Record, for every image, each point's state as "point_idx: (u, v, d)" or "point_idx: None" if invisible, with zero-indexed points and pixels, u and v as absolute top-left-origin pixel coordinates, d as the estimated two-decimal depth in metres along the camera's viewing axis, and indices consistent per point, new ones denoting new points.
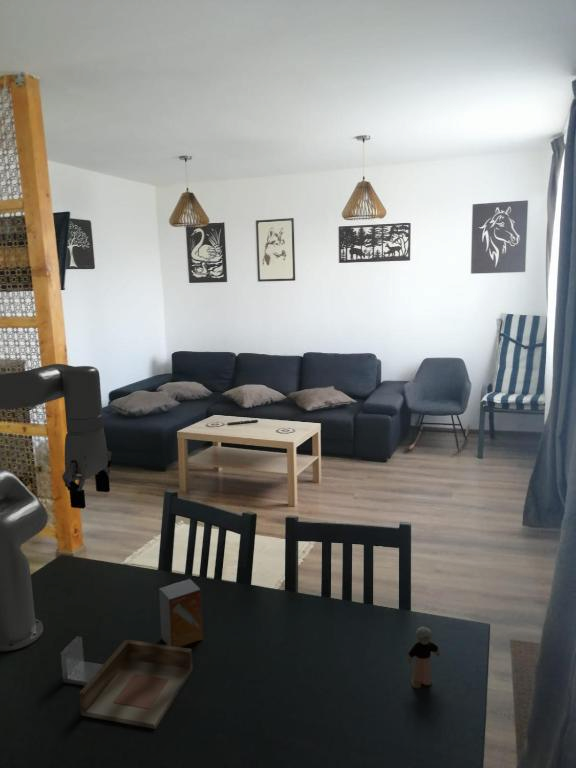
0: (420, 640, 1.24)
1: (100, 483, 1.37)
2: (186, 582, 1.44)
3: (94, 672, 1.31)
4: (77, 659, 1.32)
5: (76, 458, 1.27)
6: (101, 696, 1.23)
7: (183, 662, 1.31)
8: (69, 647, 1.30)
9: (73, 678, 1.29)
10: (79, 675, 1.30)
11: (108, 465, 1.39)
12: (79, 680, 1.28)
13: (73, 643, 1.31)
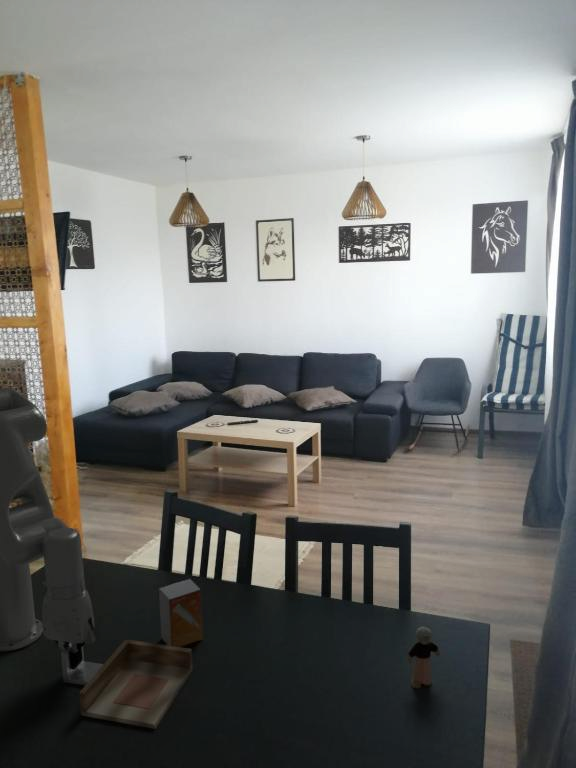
0: (420, 640, 1.24)
1: None
2: (186, 582, 1.44)
3: (94, 672, 1.31)
4: None
5: (91, 620, 1.29)
6: (101, 696, 1.23)
7: (183, 662, 1.31)
8: (69, 647, 1.30)
9: (73, 677, 1.29)
10: (79, 675, 1.30)
11: None
12: (79, 680, 1.28)
13: None
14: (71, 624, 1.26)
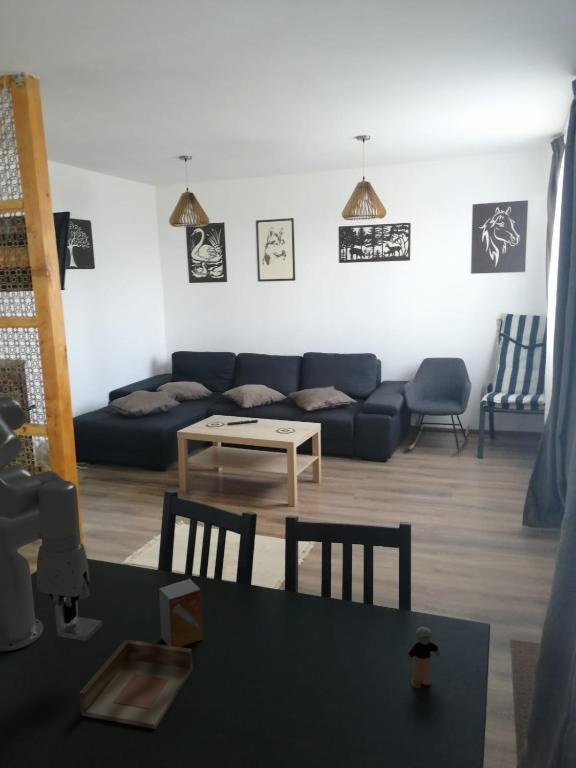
0: (420, 640, 1.24)
1: None
2: (186, 582, 1.44)
3: (88, 627, 1.29)
4: None
5: (86, 574, 1.27)
6: (101, 696, 1.23)
7: (183, 662, 1.31)
8: (64, 601, 1.28)
9: (67, 631, 1.28)
10: (73, 629, 1.28)
11: None
12: (73, 634, 1.27)
13: None
14: (66, 577, 1.25)
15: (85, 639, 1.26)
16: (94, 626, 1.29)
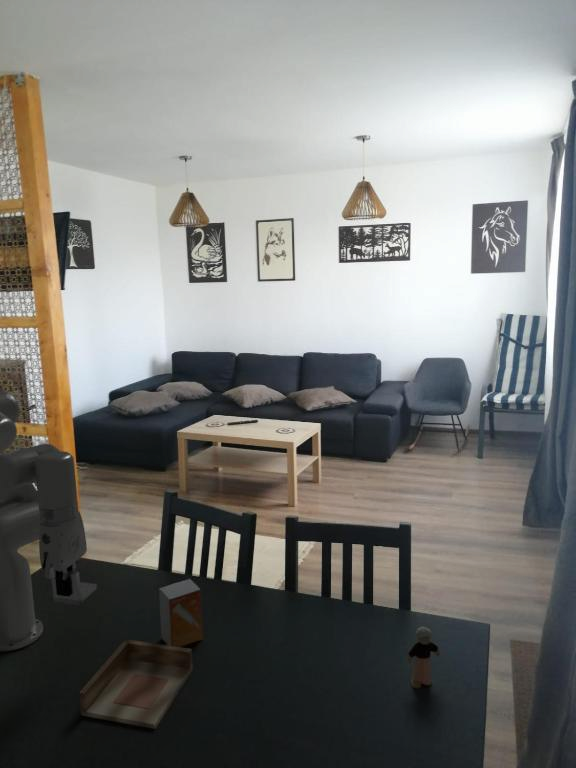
0: (420, 640, 1.24)
1: None
2: (186, 582, 1.44)
3: (80, 585, 1.34)
4: None
5: None
6: (101, 696, 1.23)
7: (183, 662, 1.31)
8: (69, 571, 1.28)
9: (81, 595, 1.30)
10: None
11: None
12: (87, 591, 1.31)
13: None
14: (80, 537, 1.28)
15: (96, 587, 1.34)
16: (81, 583, 1.35)
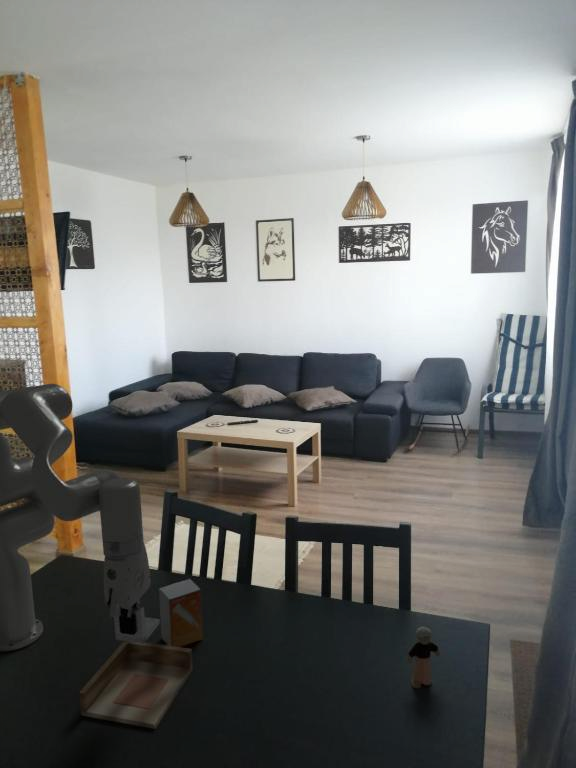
0: (420, 640, 1.24)
1: None
2: (186, 582, 1.44)
3: None
4: None
5: None
6: (101, 696, 1.23)
7: (183, 662, 1.31)
8: (133, 607, 1.18)
9: (146, 632, 1.20)
10: None
11: None
12: (151, 627, 1.22)
13: None
14: (145, 571, 1.19)
15: (159, 622, 1.24)
16: None
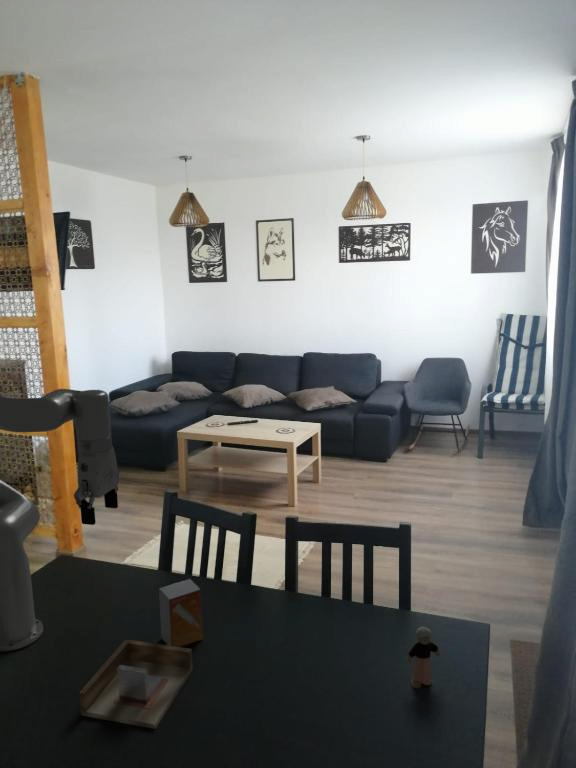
0: (420, 640, 1.24)
1: None
2: (186, 582, 1.44)
3: None
4: None
5: None
6: (101, 696, 1.23)
7: (183, 662, 1.31)
8: (137, 669, 1.20)
9: (149, 692, 1.22)
10: None
11: None
12: (154, 687, 1.24)
13: (130, 667, 1.21)
14: (113, 470, 1.41)
15: (162, 681, 1.27)
16: None
